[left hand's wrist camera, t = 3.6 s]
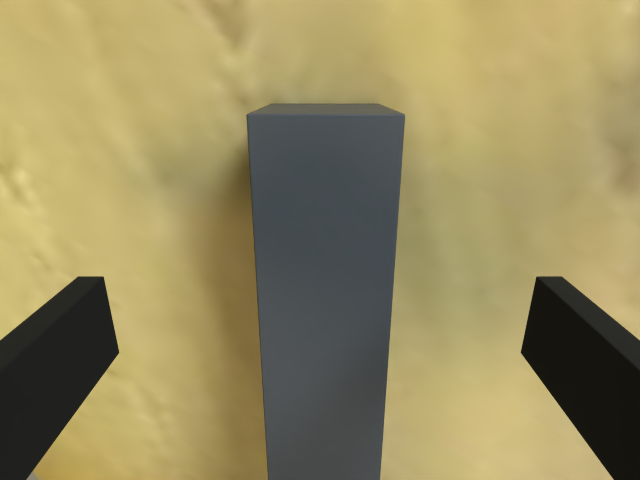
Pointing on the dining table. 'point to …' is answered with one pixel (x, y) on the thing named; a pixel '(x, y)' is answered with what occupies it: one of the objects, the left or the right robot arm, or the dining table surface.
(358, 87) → the dining table surface
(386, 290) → the beam
